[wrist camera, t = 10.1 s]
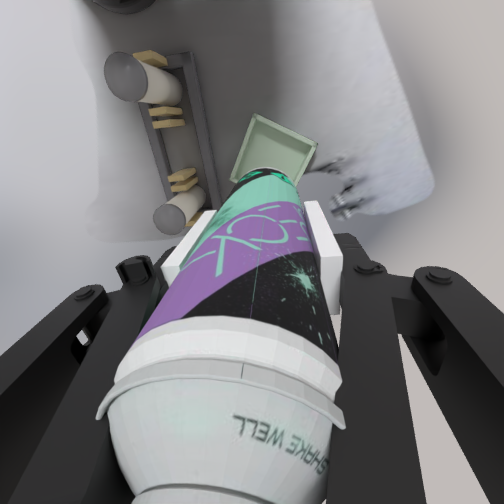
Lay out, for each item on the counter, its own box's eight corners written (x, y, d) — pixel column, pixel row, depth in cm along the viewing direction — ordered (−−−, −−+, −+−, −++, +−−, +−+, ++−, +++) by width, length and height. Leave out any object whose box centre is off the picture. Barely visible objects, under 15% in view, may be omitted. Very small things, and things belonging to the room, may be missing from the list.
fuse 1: (158, 66, 34) (106, 43, 24) (186, 80, 35) (147, 63, 24) (153, 99, 36) (102, 90, 26) (179, 111, 37) (140, 108, 26)
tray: (255, 112, 36) (253, 112, 34) (315, 142, 37) (318, 143, 35) (231, 177, 41) (229, 180, 39) (286, 201, 42) (286, 205, 40)
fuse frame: (132, 66, 35) (106, 56, 29) (193, 54, 33) (177, 42, 28) (176, 216, 45) (162, 229, 40) (223, 212, 44) (216, 225, 39)
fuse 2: (186, 180, 42) (156, 200, 31) (209, 190, 42) (187, 213, 32) (181, 202, 44) (150, 227, 33) (202, 211, 44) (179, 239, 34)
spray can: (295, 231, 21) (375, 742, 4) (234, 229, 22) (57, 676, 4) (301, 166, 19) (632, 862, 1) (231, 166, 19) (-258, 655, 2)
